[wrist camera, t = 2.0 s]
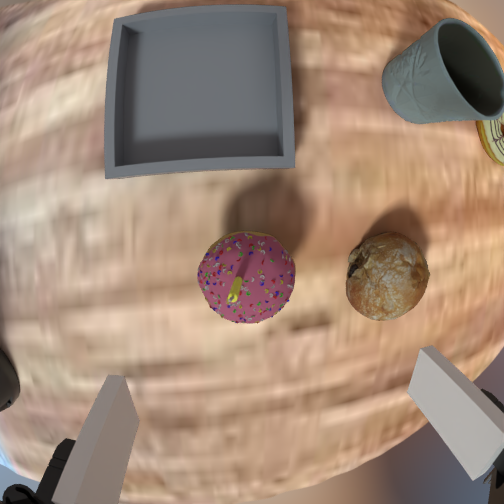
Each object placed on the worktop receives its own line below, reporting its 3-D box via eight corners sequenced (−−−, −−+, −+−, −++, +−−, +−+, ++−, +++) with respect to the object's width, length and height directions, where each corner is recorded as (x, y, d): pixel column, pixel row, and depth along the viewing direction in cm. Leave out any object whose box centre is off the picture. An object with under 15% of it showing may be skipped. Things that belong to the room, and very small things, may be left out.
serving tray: (118, 178, 27) (105, 179, 24) (123, 32, 23) (114, 18, 19) (286, 168, 28) (295, 167, 25) (279, 22, 24) (286, 6, 21)
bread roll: (357, 220, 34) (358, 223, 27) (433, 242, 31) (452, 251, 24) (337, 296, 36) (332, 318, 29) (409, 316, 33) (421, 342, 26)
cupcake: (187, 277, 30) (168, 335, 19) (230, 206, 29) (234, 224, 17) (257, 315, 32) (274, 384, 20) (301, 250, 31) (345, 292, 19)
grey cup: (441, 137, 29) (512, 132, 17) (375, 121, 28) (444, 101, 16) (435, 66, 26) (497, 42, 15) (370, 43, 25) (427, 1, 14)
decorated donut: (490, 87, 28) (507, 84, 24) (515, 148, 30) (531, 148, 27) (461, 108, 28) (479, 105, 25) (489, 176, 31) (507, 178, 27)
